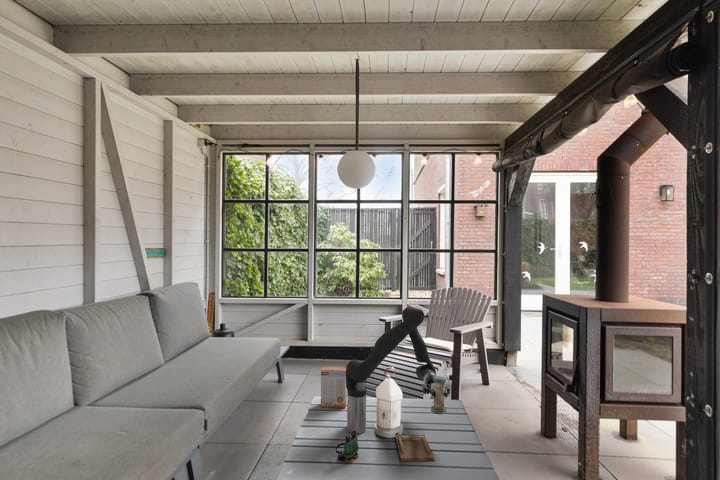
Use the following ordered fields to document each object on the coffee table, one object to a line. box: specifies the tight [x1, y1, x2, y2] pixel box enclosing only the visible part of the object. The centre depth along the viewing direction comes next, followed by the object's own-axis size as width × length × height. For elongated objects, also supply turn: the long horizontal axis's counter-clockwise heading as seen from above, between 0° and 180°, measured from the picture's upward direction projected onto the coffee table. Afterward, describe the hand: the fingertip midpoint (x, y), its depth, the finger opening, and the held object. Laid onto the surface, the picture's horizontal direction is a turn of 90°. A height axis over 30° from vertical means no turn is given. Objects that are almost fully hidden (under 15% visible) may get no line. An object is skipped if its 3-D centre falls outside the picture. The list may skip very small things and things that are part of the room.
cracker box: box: [320, 366, 348, 409], centre depth 219 cm, size 14×6×21 cm, turn 84°
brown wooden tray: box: [395, 434, 435, 462], centre depth 175 cm, size 14×20×3 cm
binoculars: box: [335, 431, 360, 464], centre depth 167 cm, size 9×11×10 cm
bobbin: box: [430, 375, 447, 415], centre depth 182 cm, size 7×7×15 cm
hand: (440, 395), depth 180 cm, fingers closed on bobbin, 4 cm apart
